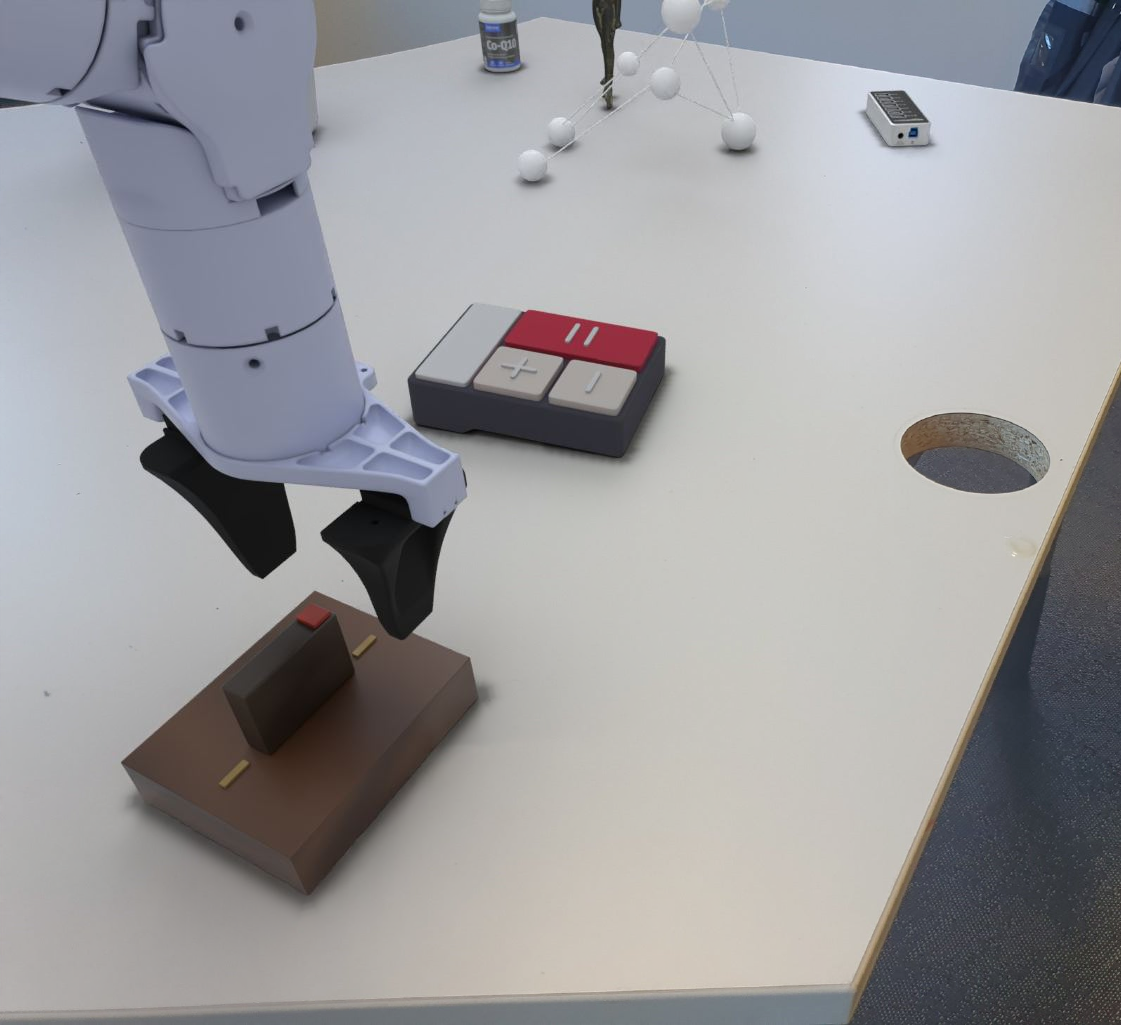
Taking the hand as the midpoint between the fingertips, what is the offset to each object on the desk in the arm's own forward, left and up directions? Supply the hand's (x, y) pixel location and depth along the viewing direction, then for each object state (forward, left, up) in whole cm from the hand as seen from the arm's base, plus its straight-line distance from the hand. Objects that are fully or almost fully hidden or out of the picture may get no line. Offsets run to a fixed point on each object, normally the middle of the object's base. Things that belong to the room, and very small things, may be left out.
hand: (341, 591), depth 42 cm
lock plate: (-2, +2, -10) cm, 10 cm away
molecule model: (+70, +25, -10) cm, 75 cm away
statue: (+83, +37, -10) cm, 91 cm away
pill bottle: (+89, +56, -10) cm, 106 cm away
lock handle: (-2, +2, -7) cm, 7 cm away
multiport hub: (+91, +4, -10) cm, 91 cm away
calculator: (+28, +9, -10) cm, 31 cm away
